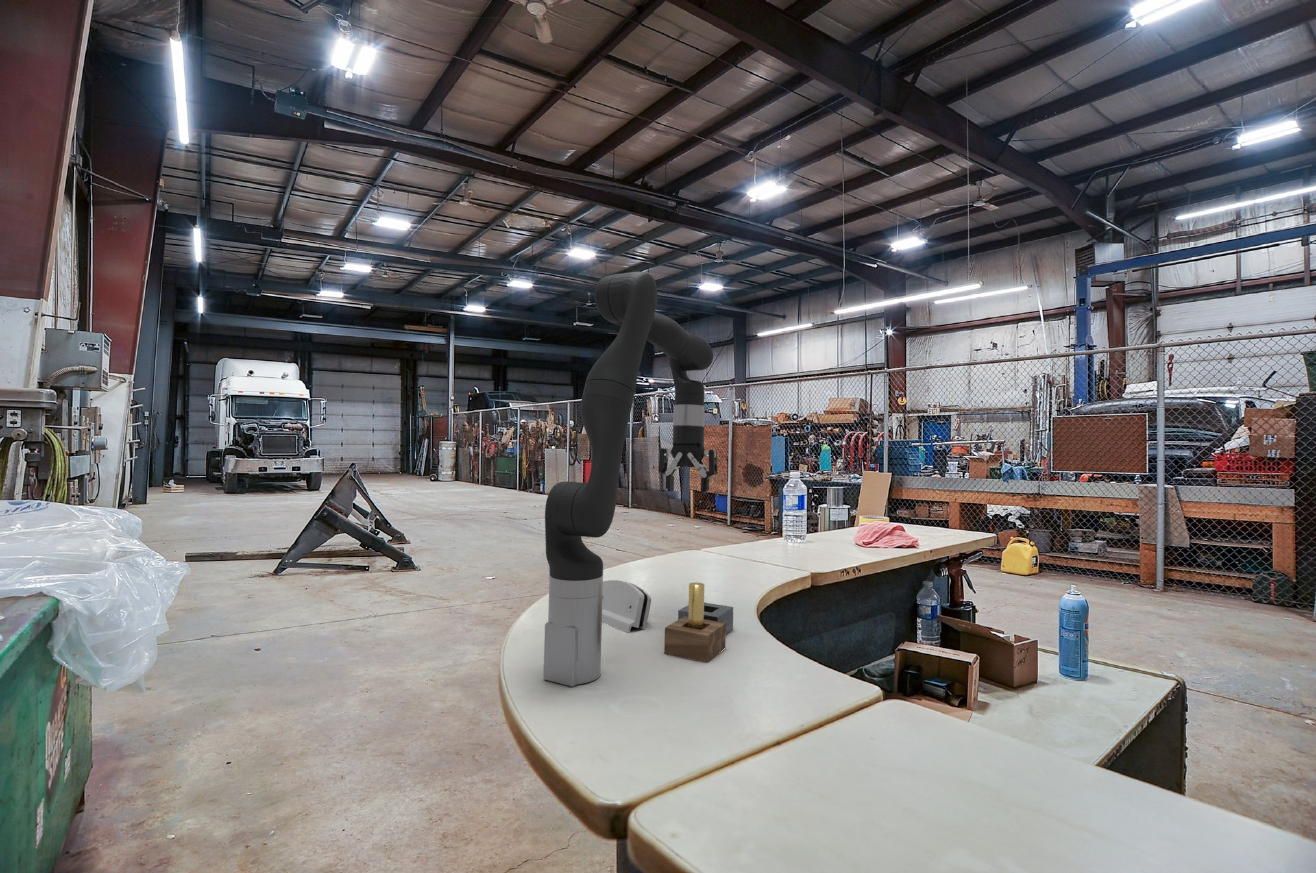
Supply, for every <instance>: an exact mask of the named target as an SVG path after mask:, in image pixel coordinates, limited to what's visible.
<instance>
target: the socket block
mask: <svg viewBox="0 0 1316 873" xmlns="http://www.w3.org/2000/svg"><path fill="white" fill-rule="evenodd" d="M688 609H689V604H688V605H686V606H684V607H682V608H681V609H678V611H677V620H679V619H681V618H682V617H684V616H687V617H688ZM704 619H705V620H710V621H716V622H722V623H726V636H727V635H728V634H730V633H731V632H732V631H733V630H734V606H729V605H724V604H715V603H709V602H705V601H704Z"/></svg>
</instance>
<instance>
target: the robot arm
mask: <svg viewBox="0 0 1316 873" xmlns="http://www.w3.org/2000/svg"><path fill="white" fill-rule="evenodd" d="M594 301H595V306H596V309H597V310H598V313H599V314H600V315H601V317H603V318H604V320H606V321H608V322H609V323H612V324H614V325H616V326H619V327H620V329H619V332H618V333H617V335H616V337H615V338H614V339H613V341H612V342H611V343H610V345H609V346H608V347H607V348H606V350H604V352H603V353H602V355H600V357H599V358H598V359H597V360H596V362H595V363H594V364H593V365H592V367H591V368H590V370H589V372H588V375H587V377H586V381H585V384H584V389H583V392H582V396H581V400H580V405H579V406H580V407H579V412H580V413H579V414H580V418H581V422H582V425H583V428H584V431H585V433H586V435H587V436H586V437H587V438H588V442H589V444H590V449H591V466H590V471H589V472H590V473H589V477H588V479H587V482H579V481H560V482H557V483H555V484H554V485H553V486H552V487H551V489H550V490H549V493H548V495H547V497H546V502H545V506H544V507H545V508H544V529H545V530H544V531H545V533H544V534H545V538H544V539H545V557H546V560H547V561H546V562H547V564H548V567H549V568H548V570H549V582H548V616H547V618H548V619H547V622H546V623H545V624H544V641H543V643H544V646H543V647H544V648H543V649H544V650H543V680H545V681H550V682H554V683H556V684H561V685H565V686H568V687H575V686H577V685H582V684H586V683H590V682H594V681H596V680H597V679H598V678H599V677H601V674H602V673H601V669H602V632H603V631H602V627H603V626H602V624H603V623H602V593H603V582H604V561H603V559H602V558H601V556H599V555H598V554H596V553H594V552H593V551H592V550H590V549H589V548H588V547H587V546H586V545H585V543H584V541H583V538H582V537H584V538H585V537H586V538H602V537H603V536H604V535H605V534H607V532H608V530H609V529H611V528H610V527H611V525H612V523H613V519H614V516H615V511H616V506H617V499H618V498H617V497H618V488H619V482H620V481H619V479H620V472H621V471H620V470H621V464H622V463H621V462H622V457H623V456H622V454H623V450H624V444H625V439H626V434H627V429H628V424H629V420H630V417H631V412H632V408H633V403H634V398H635V393H636V387H637V382H638V381H637V380H638V376H639V371H640V366H641V362H642V357H643V354H644V350H645V346H646V343H647V342H648V343H650V344H652V345H653V346H655V347H656V349H658V350H659V351H661V352H662V354H664V355H666V356H667V358H668V363H669V367H670V370H671V371H670V372H671V375H672V380H673V386H674V410H673V416H672V418H673V419H672V421H673V422H672V447H671V449H670V448H668V447H667V448H666V447H662V448H660V449H659V457H658V458H659V460H658V472H659V474H663V475H665V489H666V490H667V493H669V492H674V490H675V475H674V474H675V473H676V472H677V470H678V469H680V468H686V467H688V468H695V469H696V470H697V471H698V472H699V474H700V475H701V478H700V494H701V495H704V494H705V495H706V494H707V492H708V491H710V478H711V477H713V476H716V475H717V474H718V452H717V449H709V450H708V449H707V450H705V427H706V426H705V425H706V424H705V423H706V420H705V418H706V417H705V415H706V414H705V384H704V383H703V382H702V381H699V380H694V379H690V377H689V375H688V374H687V372H691V371H694V372H695V371H704V370H706V369H708V368H710V367H711V365H712V363H713V360H714V353H713V352H714V351H713V348H712V346H711V344H709V342H708V341H706V339H704V338H702V337H700V336H698V335H697V334H694V333H692V332H688V331H687V330H685V329H684V328H683V327H682V326H681V325H680V324H679V323H678V322H677V321H675V319H672V318H670V317H669V316H666V315H665V314H661V313H659V312H656V310H657V304H658V287H657V282H656V279H655V278H654V277H653V275H652V274H651V273H649V272H646V271H631V272H624V273H615V274H611V275H607V276H604V277H602V278H601V279H599V281H598V282H597V283H596V287H595V290H594ZM670 456H672V458H673V460H672V461H671V463H670V464H668V463H669V458H670ZM705 456H706V459H708V468H707V466H706V465H705V463H704V461H703V458H705ZM668 466H669V467H668Z"/></svg>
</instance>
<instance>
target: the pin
mask: <svg viewBox="0 0 1316 873" xmlns="http://www.w3.org/2000/svg"><path fill="white" fill-rule="evenodd" d="M704 602H705V583H702V582H690V583H688V605H689V609H688V628H692V629H698V630H703V628H704Z"/></svg>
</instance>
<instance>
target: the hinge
mask: <svg viewBox="0 0 1316 873" xmlns="http://www.w3.org/2000/svg"><path fill="white" fill-rule="evenodd" d="M651 604H652V597H651V595H650V594H649V593H648V592H646V591H645V590H644V589H643V588H641V587H640V586H638V585H636V584H634V583H632V582H628V581H626V580H625V581H624V580H618V579H616V580H615V579H612V580H611V579H610V580H603V593H602V622H603V623H602V624H604V623H605V625H607V624H608V625H607V626H609V627H612V628H615V629H617V630H619V631H622V632H624V633H627V634H630V633H631V629H632V627H634V628H636V629H639V628H640V629H642V630H647V626H648V620H649V615H650V611H651V610H650V609H651Z"/></svg>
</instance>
